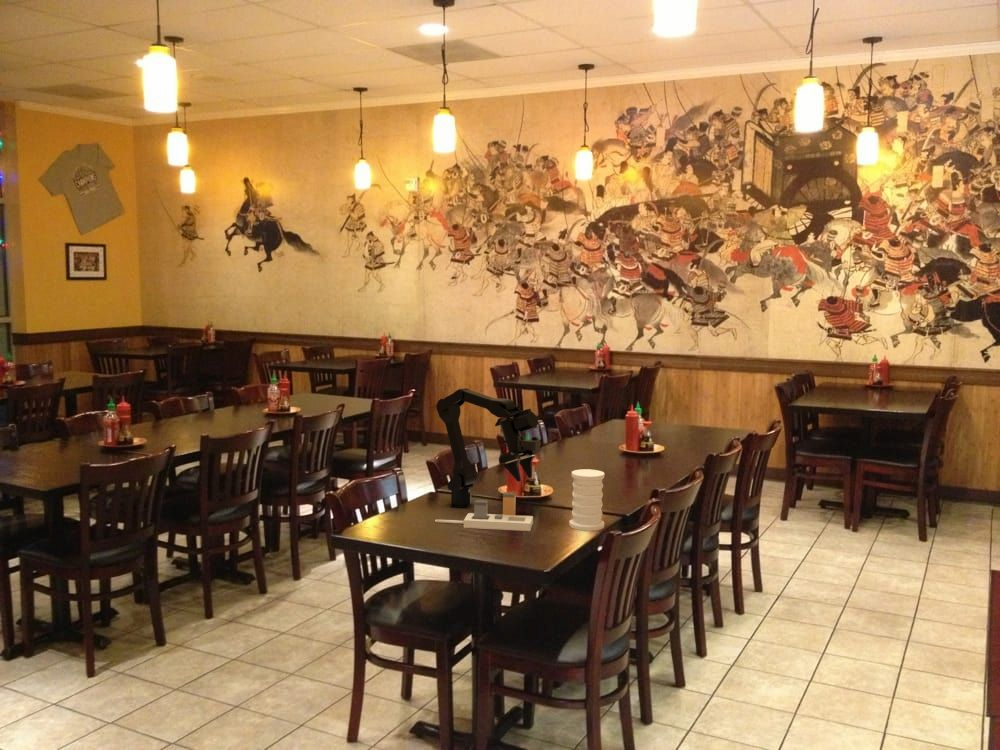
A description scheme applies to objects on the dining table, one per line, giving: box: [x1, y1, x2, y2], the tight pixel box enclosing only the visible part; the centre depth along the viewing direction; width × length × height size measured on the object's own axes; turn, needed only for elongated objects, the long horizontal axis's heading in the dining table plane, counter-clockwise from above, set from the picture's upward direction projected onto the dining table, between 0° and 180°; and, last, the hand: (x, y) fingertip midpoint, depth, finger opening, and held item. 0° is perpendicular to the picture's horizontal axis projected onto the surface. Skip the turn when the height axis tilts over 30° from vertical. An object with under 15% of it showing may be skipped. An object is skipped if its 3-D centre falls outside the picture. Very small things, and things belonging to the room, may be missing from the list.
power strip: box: [434, 512, 534, 532], centre depth 293 cm, size 32×9×3 cm, turn 82°
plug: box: [502, 491, 517, 515], centre depth 304 cm, size 4×3×8 cm
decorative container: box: [568, 468, 605, 532], centre depth 293 cm, size 12×12×18 cm
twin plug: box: [473, 499, 489, 520], centre depth 293 cm, size 4×3×8 cm
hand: (525, 479), depth 299 cm, fingers open, 9 cm apart
